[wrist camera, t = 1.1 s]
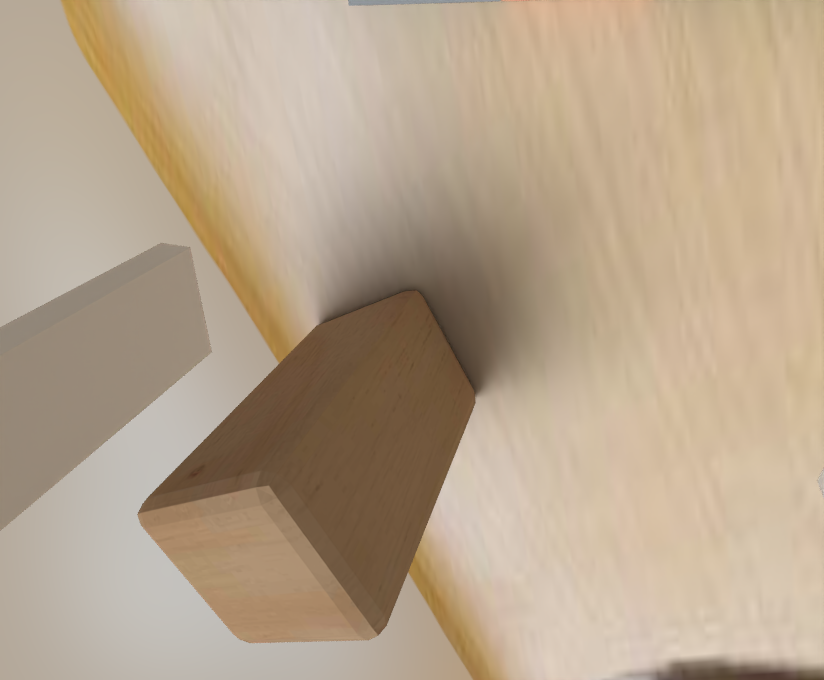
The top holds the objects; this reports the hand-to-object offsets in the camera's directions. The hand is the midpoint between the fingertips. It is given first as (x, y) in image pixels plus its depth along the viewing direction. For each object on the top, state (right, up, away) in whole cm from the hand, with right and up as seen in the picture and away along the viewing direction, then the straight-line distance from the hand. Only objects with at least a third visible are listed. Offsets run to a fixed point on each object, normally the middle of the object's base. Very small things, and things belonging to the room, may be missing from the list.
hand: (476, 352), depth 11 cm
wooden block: (-2, -1, +32) cm, 32 cm away
